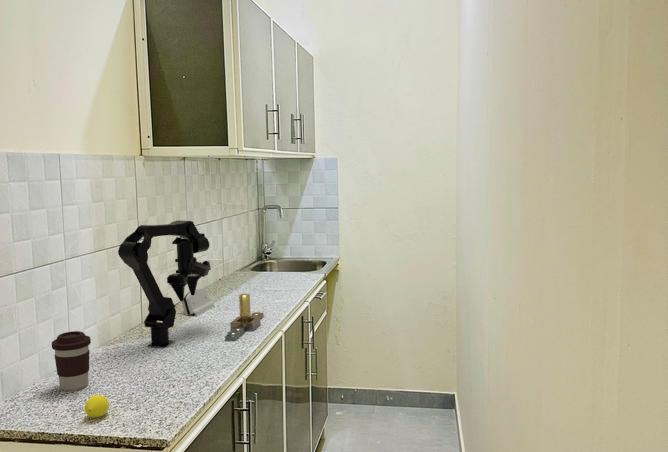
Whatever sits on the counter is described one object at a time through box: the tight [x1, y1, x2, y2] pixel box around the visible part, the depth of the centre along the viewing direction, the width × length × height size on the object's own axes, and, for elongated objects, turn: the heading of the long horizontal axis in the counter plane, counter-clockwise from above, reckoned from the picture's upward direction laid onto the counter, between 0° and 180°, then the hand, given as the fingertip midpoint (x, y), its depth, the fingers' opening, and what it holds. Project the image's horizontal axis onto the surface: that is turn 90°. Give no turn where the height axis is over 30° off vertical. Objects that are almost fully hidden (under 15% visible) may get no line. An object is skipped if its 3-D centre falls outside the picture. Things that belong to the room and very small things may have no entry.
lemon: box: [84, 394, 110, 419], centre depth 147 cm, size 7×5×5 cm
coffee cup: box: [51, 330, 92, 392], centre depth 167 cm, size 10×10×15 cm
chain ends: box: [224, 311, 265, 342], centre depth 223 cm, size 33×9×3 cm, turn 169°
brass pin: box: [238, 293, 252, 322], centre depth 222 cm, size 4×4×12 cm
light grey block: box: [180, 288, 215, 317], centre depth 249 cm, size 17×5×10 cm, turn 165°
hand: (187, 298), depth 216 cm, fingers open, 9 cm apart
